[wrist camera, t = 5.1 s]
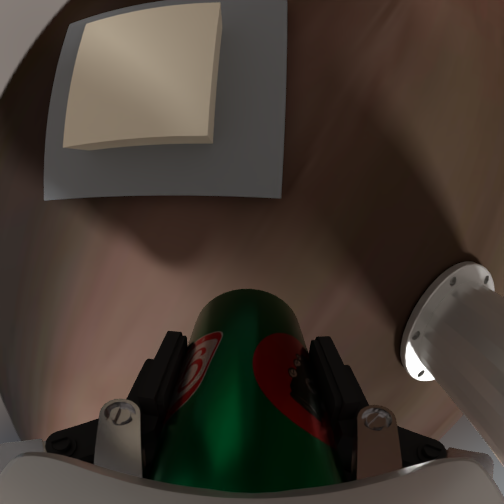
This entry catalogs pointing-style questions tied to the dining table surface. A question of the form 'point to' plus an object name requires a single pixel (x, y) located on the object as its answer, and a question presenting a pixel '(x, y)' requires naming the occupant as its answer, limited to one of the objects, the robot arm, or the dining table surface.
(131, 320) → the dining table surface
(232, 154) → the build base
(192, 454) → the soda can
